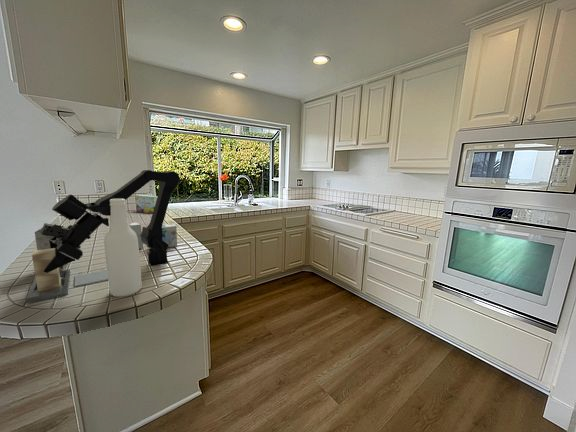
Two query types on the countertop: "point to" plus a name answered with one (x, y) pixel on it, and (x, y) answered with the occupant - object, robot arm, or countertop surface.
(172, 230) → the light bulb box
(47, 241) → the coffee box
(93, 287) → the countertop surface
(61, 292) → the frame
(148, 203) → the snack box
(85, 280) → the mat
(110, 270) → the alcohol
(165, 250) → the robot arm
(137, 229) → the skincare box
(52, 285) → the tan wooden block
